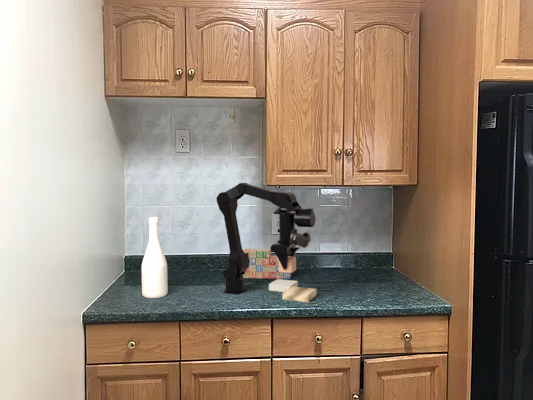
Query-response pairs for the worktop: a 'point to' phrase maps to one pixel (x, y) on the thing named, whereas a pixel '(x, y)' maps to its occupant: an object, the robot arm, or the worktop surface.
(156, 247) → the wine bottle
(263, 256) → the stack of blocks
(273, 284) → the white plastic slab
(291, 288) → the birch slab
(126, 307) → the worktop surface
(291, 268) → the terracotta cube
